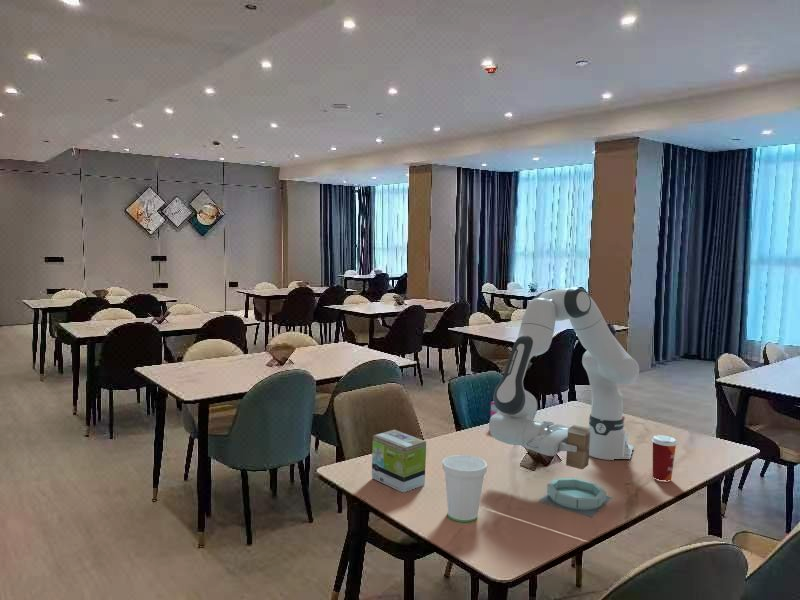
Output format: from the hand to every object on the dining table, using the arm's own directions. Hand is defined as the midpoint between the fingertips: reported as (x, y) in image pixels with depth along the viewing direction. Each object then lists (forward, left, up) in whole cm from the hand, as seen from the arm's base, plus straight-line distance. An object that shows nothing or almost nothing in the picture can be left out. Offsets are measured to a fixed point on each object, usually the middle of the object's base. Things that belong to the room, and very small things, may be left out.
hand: (581, 446), depth 177 cm
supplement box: (-49, -52, -17) cm, 74 cm away
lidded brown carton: (0, -1, -6) cm, 6 cm away
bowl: (0, -1, -17) cm, 17 cm away
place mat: (0, -1, -17) cm, 17 cm away
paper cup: (-36, +15, -17) cm, 43 cm away
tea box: (+24, -50, -17) cm, 58 cm away
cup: (+31, -22, -17) cm, 42 cm away
